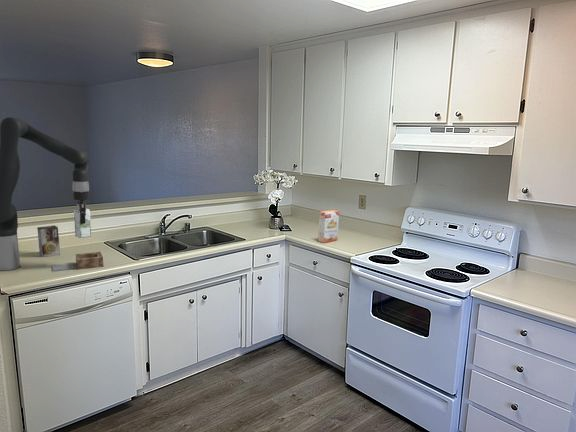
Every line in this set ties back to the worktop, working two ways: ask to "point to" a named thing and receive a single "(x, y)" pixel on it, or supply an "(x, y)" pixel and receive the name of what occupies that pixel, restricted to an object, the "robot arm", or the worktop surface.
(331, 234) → the cracker box
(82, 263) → the box
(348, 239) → the worktop surface
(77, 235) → the syrup box
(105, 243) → the worktop surface
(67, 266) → the coaster
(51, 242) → the coffee box
